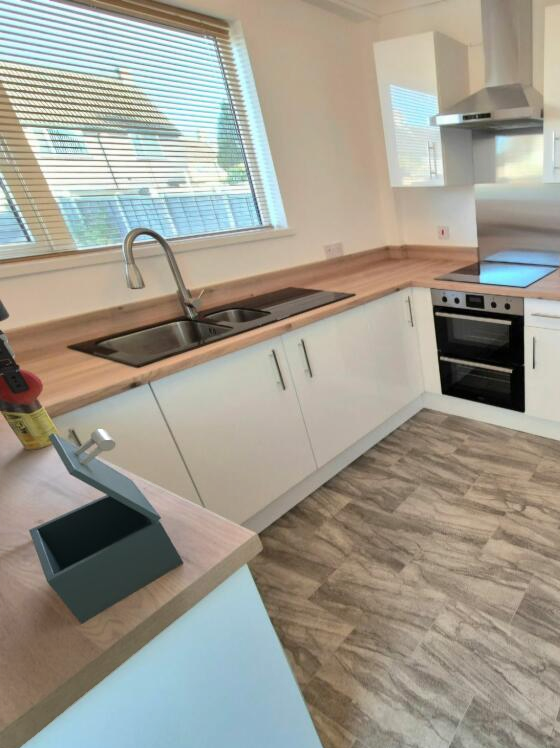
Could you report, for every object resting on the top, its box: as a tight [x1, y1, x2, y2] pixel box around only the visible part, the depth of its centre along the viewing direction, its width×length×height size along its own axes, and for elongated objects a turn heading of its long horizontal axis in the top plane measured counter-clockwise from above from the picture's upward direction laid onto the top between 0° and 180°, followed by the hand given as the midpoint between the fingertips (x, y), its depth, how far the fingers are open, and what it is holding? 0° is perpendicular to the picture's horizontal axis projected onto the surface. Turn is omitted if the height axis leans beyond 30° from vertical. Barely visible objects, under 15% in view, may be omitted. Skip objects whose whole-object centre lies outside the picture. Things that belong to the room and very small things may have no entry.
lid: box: [48, 428, 162, 522], centre depth 65 cm, size 14×16×5 cm
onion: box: [0, 364, 44, 405], centre depth 77 cm, size 6×6×8 cm
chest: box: [28, 494, 184, 625], centre depth 67 cm, size 13×16×9 cm
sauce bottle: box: [0, 397, 62, 451], centre depth 97 cm, size 7×6×20 cm
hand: (18, 386), depth 77 cm, fingers closed on onion, 5 cm apart
